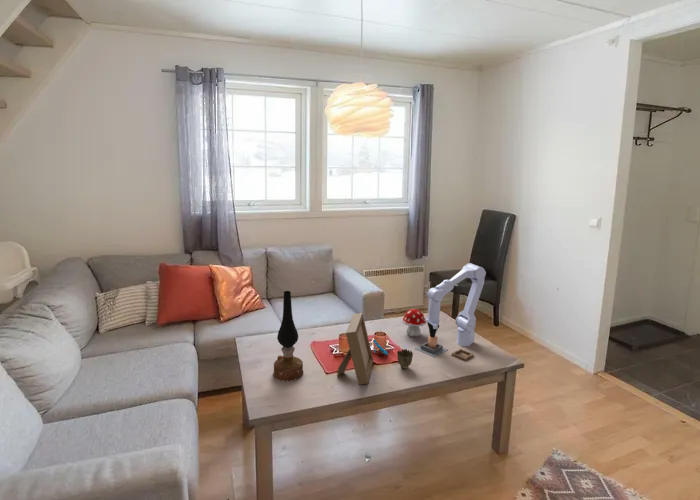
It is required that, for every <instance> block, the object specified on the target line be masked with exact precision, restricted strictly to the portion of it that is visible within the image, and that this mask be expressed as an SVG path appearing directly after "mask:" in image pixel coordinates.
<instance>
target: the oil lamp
mask: <svg viewBox="0 0 700 500" xmlns="http://www.w3.org/2000/svg"><path fill="white" fill-rule="evenodd" d="M277 332H278V333H277V337H276V339H277V342H278V343H279V344H280V346H282V347H281V352H282V354H283V355H278V356H277V359H276V360H275V361H274V362H273V373H272V374H273V377H274V378H275V379H276V378H277V379H276V380H278V379H279V380H278V381H281V380H285V381H284V382H292V381H296V380H299V379H300V378H302V377H303V375H304V369H303V366H304V365H303V361H302V359H301V358H299V357H296V356H294V352H295V349H296V348H295V344H296V343H297V342H298V340H299V333H298V330H297V327H296V325H295V322H294V319H293V307H292V295H291V291H290V290H285V291H283V307H282V321H281V323H280V327H279V330H278V331H277ZM295 379H296V380H295ZM287 380H288V381H287ZM291 380H292V381H291Z"/></svg>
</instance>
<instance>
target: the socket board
mask: <svg viewBox="0 0 700 500" xmlns="http://www.w3.org/2000/svg"><path fill="white" fill-rule="evenodd" d="M443 346H444V345H442V344H439V343H437V347H436V348H434V349H431V348H429V347H428V341H426V342H425V343H422V344H420V345H419V346H417V347H415V348H414V350H417V351H419V352H421V353H422V354H423V353H424V354H426V355H428V356H430V357H433V358H437V356H440V355H441V354H443V353H445V352H448V350H449V349H448V348H445V347H443Z"/></svg>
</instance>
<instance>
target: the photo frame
mask: <svg viewBox="0 0 700 500" xmlns="http://www.w3.org/2000/svg"><path fill="white" fill-rule="evenodd" d="M345 335H346V340H347V343H348V347H349V349H348V350H347V352H346V354H345V356H344V358H343V359H342V361H341V362H340V364H339V366H338V367H337V373H336V376H337V377H340V376H341V375H344V374H345V372H346V369H347V366H348V365H349V363H350V360H351V359H352V363H353V364H352V365H353V368H354V371H355V375H356V380H357V385H367V384H369V380H370V376H371V372H372V368H373V363H374V357H373V352H372V347H371V344H370V340H369V336H368V331H367V327H366V323H365V317H364V314H363V312H359V313H354V314H353V315H352V318H350V322H349V324H348V327H347V329H346V331H345Z"/></svg>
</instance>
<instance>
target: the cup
mask: <svg viewBox="0 0 700 500" xmlns="http://www.w3.org/2000/svg"><path fill="white" fill-rule="evenodd" d="M396 353H397V355H396V357H397V363H398V364H399V366H400V368H401V369H402V370H408V369H409V366H410V365H411V364H412V361H413V356H414V352H413V351H412V350H409V349H406V348H405V349H403V348H402V349H401V350H400V349H399V350H397V351H396Z"/></svg>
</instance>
